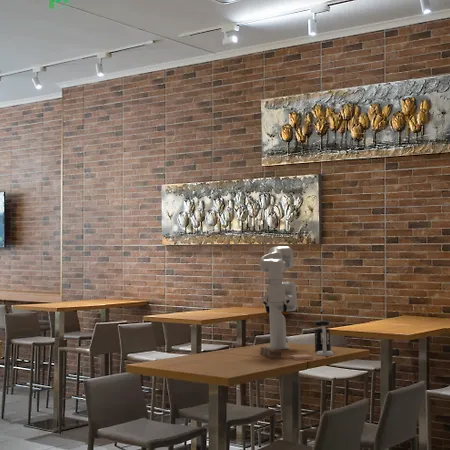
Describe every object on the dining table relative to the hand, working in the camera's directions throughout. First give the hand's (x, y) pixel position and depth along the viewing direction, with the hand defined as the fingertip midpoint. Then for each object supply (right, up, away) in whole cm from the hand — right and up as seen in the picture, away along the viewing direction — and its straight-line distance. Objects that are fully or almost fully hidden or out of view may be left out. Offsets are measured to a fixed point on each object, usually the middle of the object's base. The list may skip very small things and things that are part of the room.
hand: (276, 312), depth 420 cm
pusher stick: (-5, -23, -8) cm, 25 cm away
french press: (+27, -23, +7) cm, 36 cm away
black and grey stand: (+26, -22, -10) cm, 36 cm away
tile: (+10, -22, -18) cm, 30 cm away
